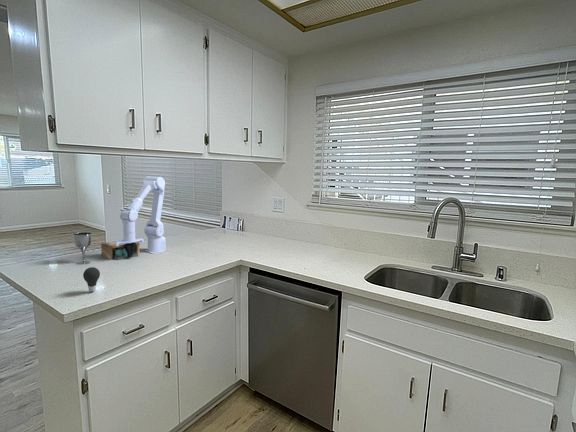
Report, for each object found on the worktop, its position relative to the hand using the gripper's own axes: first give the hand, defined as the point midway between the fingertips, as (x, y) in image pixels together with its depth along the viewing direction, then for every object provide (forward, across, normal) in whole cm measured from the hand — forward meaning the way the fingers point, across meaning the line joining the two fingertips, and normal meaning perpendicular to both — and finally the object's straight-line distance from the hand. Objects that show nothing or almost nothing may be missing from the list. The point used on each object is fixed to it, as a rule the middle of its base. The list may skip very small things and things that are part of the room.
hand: (130, 256), depth 170 cm
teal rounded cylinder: (+1, -1, -7) cm, 7 cm away
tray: (+2, 0, -7) cm, 7 cm away
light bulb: (+1, +32, +34) cm, 47 cm away
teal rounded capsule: (+1, +3, -7) cm, 7 cm away
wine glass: (+1, +19, -9) cm, 21 cm away
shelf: (+1, 0, -10) cm, 10 cm away
